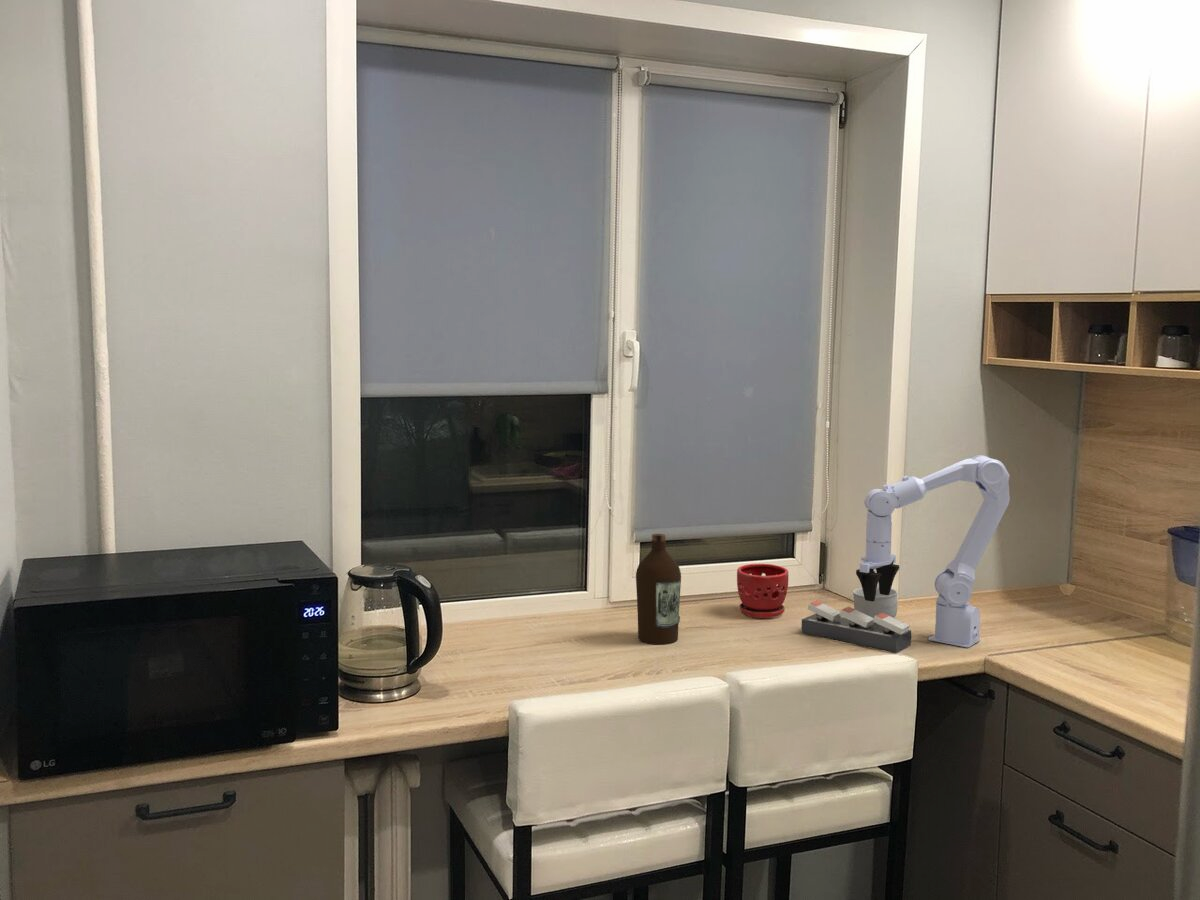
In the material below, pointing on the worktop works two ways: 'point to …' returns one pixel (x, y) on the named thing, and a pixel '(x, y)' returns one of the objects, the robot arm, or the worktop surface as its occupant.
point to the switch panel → (856, 633)
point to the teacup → (876, 603)
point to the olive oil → (658, 595)
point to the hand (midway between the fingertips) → (877, 597)
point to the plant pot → (762, 589)
